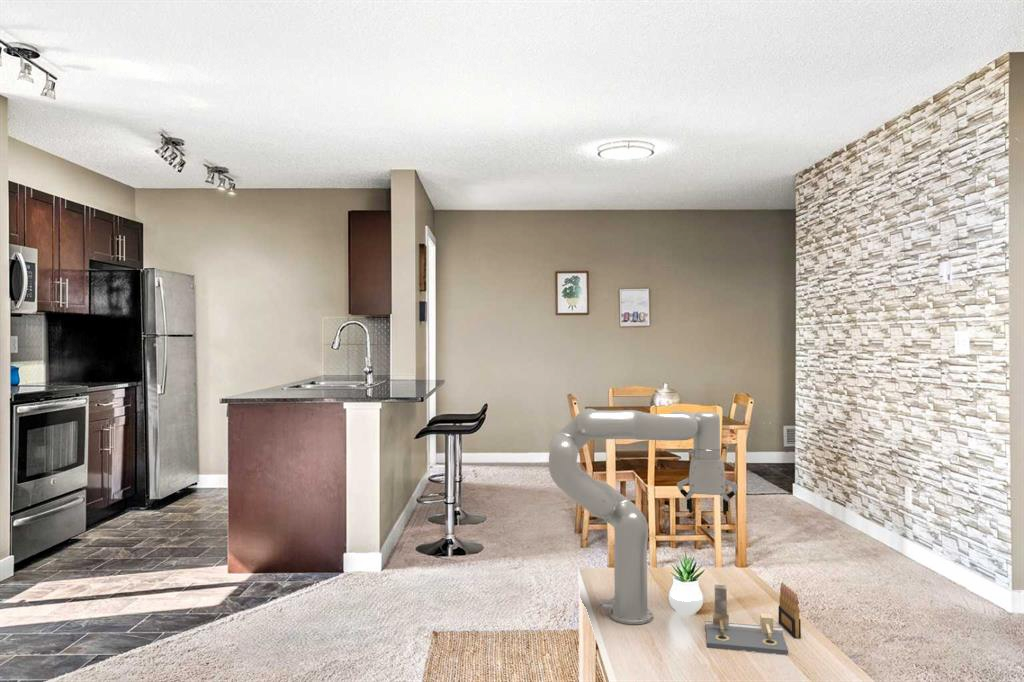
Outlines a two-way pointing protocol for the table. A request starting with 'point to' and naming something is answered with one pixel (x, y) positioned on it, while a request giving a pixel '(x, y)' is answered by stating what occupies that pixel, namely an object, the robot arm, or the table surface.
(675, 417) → the robot arm
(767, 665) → the table surface
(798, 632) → the ammunition clip
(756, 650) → the hole plate
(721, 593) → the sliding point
